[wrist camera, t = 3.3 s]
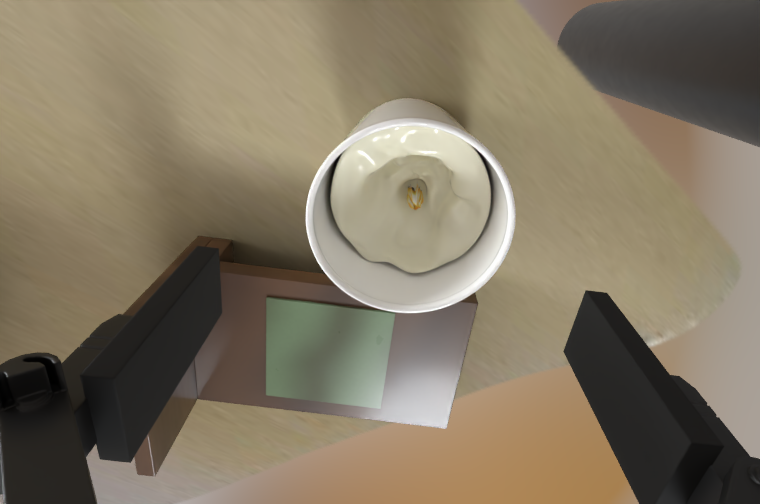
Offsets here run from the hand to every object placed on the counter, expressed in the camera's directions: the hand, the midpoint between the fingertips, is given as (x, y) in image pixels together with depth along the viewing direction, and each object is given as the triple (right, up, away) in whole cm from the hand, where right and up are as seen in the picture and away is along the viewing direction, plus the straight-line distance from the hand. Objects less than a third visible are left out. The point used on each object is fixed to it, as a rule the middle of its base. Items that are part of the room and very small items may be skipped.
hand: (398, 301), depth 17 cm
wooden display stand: (-4, -4, +22) cm, 22 cm away
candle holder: (+1, +8, +16) cm, 18 cm away
